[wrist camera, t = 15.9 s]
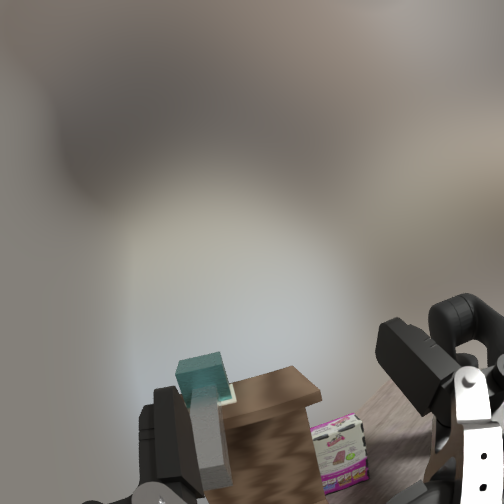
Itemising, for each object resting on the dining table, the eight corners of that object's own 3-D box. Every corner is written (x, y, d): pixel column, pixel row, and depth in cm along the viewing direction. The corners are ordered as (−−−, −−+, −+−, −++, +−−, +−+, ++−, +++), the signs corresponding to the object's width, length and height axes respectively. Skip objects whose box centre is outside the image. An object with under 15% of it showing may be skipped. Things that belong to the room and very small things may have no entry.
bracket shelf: (323, 499, 39) (292, 364, 42) (346, 534, 27) (319, 388, 30) (224, 525, 36) (165, 395, 39) (230, 566, 24) (151, 430, 27)
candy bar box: (362, 467, 46) (354, 411, 47) (370, 479, 41) (364, 421, 42) (312, 484, 45) (299, 429, 46) (318, 498, 40) (304, 442, 41)
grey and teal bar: (228, 382, 39) (219, 351, 40) (252, 481, 17) (234, 434, 17) (189, 391, 38) (179, 360, 39) (177, 494, 16) (152, 448, 16)
